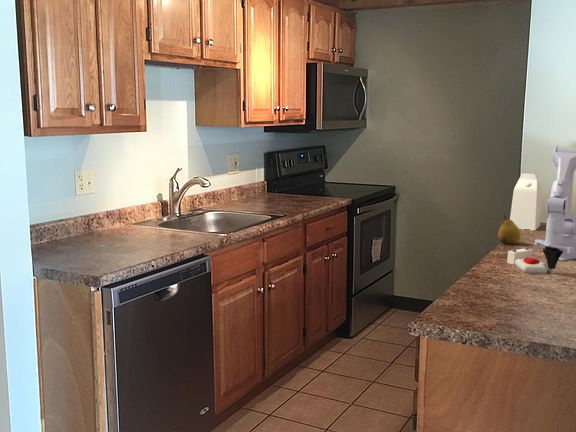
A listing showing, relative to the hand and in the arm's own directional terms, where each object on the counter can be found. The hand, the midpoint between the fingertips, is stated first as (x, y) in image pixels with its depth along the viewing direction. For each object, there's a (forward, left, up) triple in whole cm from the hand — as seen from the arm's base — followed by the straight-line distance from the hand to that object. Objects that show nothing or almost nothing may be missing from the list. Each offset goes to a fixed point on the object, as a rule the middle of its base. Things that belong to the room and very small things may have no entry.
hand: (551, 268), depth 228 cm
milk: (-60, -61, -2) cm, 86 cm away
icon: (+2, -6, -2) cm, 7 cm away
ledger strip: (-2, -15, -1) cm, 16 cm away
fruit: (-24, -40, -2) cm, 47 cm away
